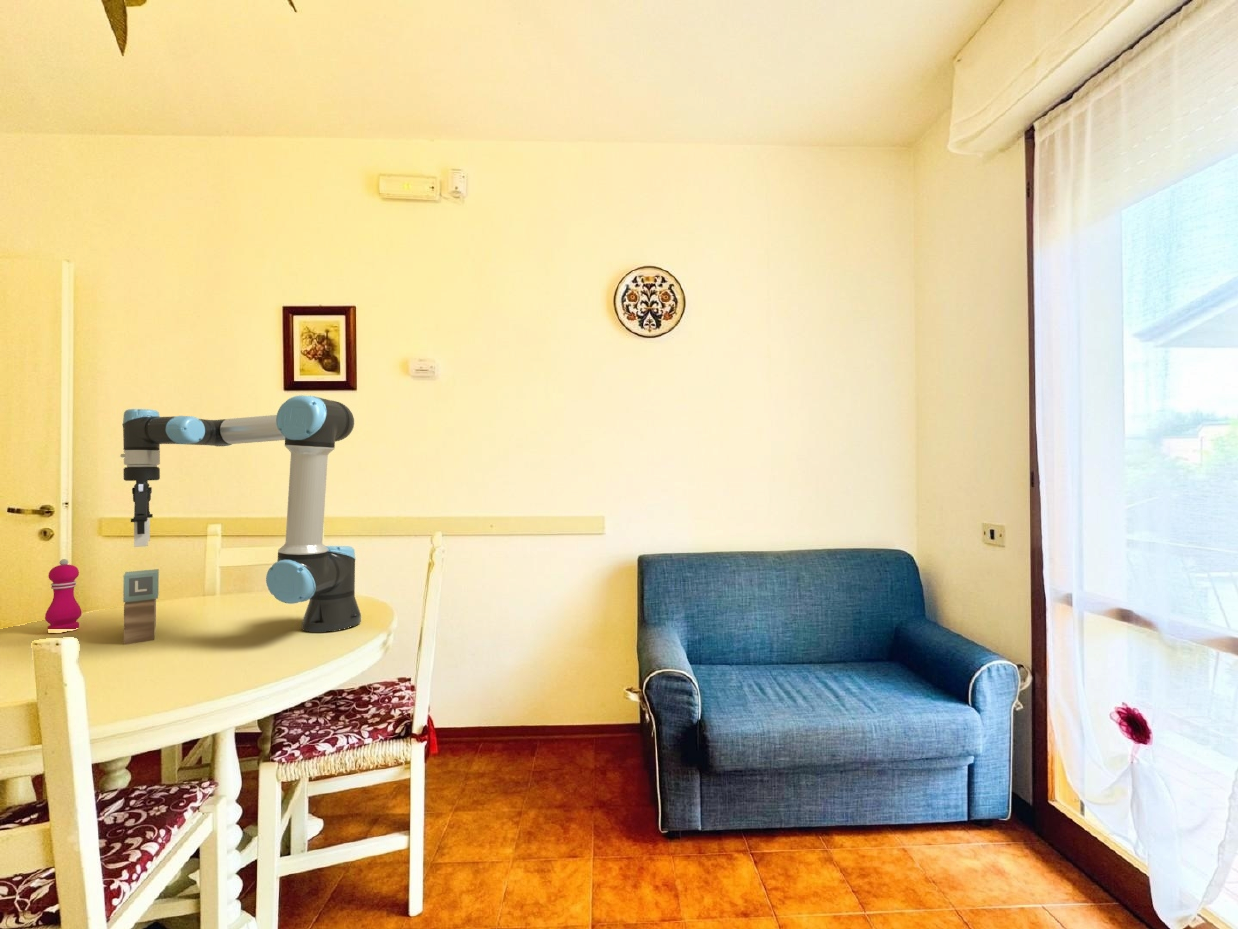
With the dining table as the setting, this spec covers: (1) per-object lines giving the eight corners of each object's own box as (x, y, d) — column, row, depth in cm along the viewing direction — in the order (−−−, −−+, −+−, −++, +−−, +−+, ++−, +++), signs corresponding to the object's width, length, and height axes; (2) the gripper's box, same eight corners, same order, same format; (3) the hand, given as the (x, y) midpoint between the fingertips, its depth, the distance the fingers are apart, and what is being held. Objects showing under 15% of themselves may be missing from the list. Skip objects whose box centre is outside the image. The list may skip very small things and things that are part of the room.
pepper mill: (81, 625, 159) (81, 556, 159) (81, 630, 154) (82, 559, 154) (45, 630, 154) (45, 559, 154) (44, 636, 149) (44, 562, 149)
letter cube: (157, 598, 150) (158, 573, 150) (123, 602, 146) (123, 576, 146) (158, 593, 156) (158, 569, 156) (125, 597, 151) (125, 572, 151)
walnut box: (154, 640, 146) (154, 602, 146) (123, 644, 143) (123, 605, 143) (155, 626, 159) (156, 591, 159) (127, 630, 155) (128, 594, 155)
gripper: (126, 466, 158) (127, 540, 158) (119, 465, 139) (120, 550, 139) (160, 466, 163) (161, 538, 163) (158, 465, 143) (159, 547, 143)
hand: (142, 544), depth 151 cm, fingers open, 13 cm apart
